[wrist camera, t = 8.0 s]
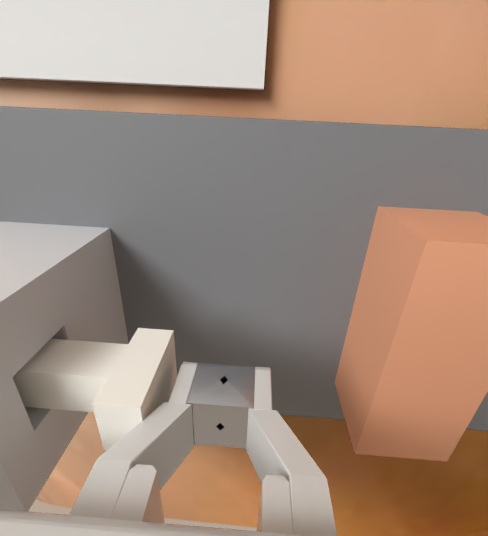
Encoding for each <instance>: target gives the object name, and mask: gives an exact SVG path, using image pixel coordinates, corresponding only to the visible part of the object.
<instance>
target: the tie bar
mask: <svg viewBox="0 0 488 536" xmlns="http://www.w3.org/2000/svg"><path fill="white" fill-rule="evenodd" d="M12 378H13V380H14V383H15V385H16V387H17V390H18V392H19V395H20V397H21V399H22V402H23V404H24V407H34V408H46V409H59V410H71V411H84V412H94V414H95V418H96V422H97V425H98V429H99V433H100V437H101V441H102V444H103V448H104V452H106V451H107V450H108V449H109V448H111V447H112V446H113V445H114V444H115V443H116V442H118V441H119V440H120V439H121V438H122V437H123V436H125V435H126V434H127V433H128V432H129V431H131V430H132V429H133V428H134V427H135V426H136V425H138V424H139V423H140V422H141V421H143V419H145V418H146V417H147V416H148V415H149V414H151V413H152V412H153V411H154V410H155V409H156V408H158V407H159V406H160V405H161V404H162V403H163V402H169V399H170V396H171V394H172V391H173V388H174V385H175V382H176V379H177V368H176V355H175V342H174V330H162V329H148V328H138V329H137V331H136V332H135V334H134V336H133V337H132V339H131V341H130V342H129V344H118V343H104V342H91V341H77V340H63V339H50V340H49V341H48V342H47V343H46V344H45V345H44V346H43V347H42V348H41V349H40V350H39V351H38V352H37V353H36V354H35V355H34V356H33V357H32V358H31V359H30V360H29V361H28V362H27V363H26V364H25V365H24V366H23V367H22V368H21V369H20V370H19V371H18V372H17V373H16V374H15V375H14V376H13V377H12Z"/></svg>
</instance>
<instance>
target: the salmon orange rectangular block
mask: <svg viewBox="0 0 488 536" xmlns="http://www.w3.org/2000/svg"><path fill="white" fill-rule="evenodd" d="M335 386H336V390H337V393H338V397H339V400H340V404H341V407H342V411H343V415H344V418H345V422H346V425H347V429H348V432H349V436H350V439H351V443H352V447H353V450H354V454H361V455H373V456H385V457H397V458H409V459H421V460H433V461H446V462H447V461H448V460H449V458H450V456H451V454H452V453H453V451H454V449H455V447H456V446H457V444H458V442H459V440H460V439H461V437H462V435H463V433H464V432H465V430H466V428H467V426H468V425H469V423H470V421H471V419H472V418H473V416H474V414H475V412H476V411H477V409H478V407H479V405H480V404H481V402H482V400H483V399H484V397H485V395H486V393H487V392H488V216H486V215H484V214H481V213H479V212H470V211H453V210H435V209H417V208H400V207H382V206H378V208H377V212H376V216H375V220H374V225H373V229H372V233H371V237H370V241H369V245H368V249H367V253H366V257H365V261H364V265H363V269H362V273H361V277H360V281H359V285H358V289H357V293H356V297H355V301H354V305H353V309H352V314H351V318H350V322H349V326H348V330H347V334H346V338H345V342H344V346H343V350H342V354H341V358H340V362H339V366H338V370H337V374H336V378H335Z"/></svg>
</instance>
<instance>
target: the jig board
mask: <svg viewBox="0 0 488 536" xmlns="http://www.w3.org/2000/svg"><path fill="white" fill-rule="evenodd" d="M378 206H382V207H400V208H417V209H435V210H453V211H470V212H479V213H481V214H484V215H486V216H488V130H483V129H462V128H441V127H421V126H400V125H379V124H359V123H338V122H317V121H296V120H276V119H255V118H234V117H214V116H193V115H172V114H152V113H131V112H110V111H90V110H69V109H48V108H28V107H7V106H0V509H5V510H16V511H28V510H29V509H30V507H31V506H32V504H33V502H34V501H35V499H36V497H37V496H38V494H39V492H40V491H41V489H42V487H43V486H44V484H45V483H46V481H47V479H48V478H49V476H50V474H51V473H52V471H53V469H54V468H55V466H56V464H57V463H58V461H59V459H60V458H61V456H62V454H63V453H64V451H65V449H66V448H67V446H68V445H69V443H70V441H71V440H72V438H73V436H74V435H75V433H76V431H77V430H78V428H79V426H80V425H81V423H82V421H83V420H84V418H85V416H86V415H87V413H88V412H84V411H71V410H59V409H46V408H34V407H24V404H23V402H22V399H21V397H20V395H19V392H18V390H17V387H16V385H15V383H14V380H13V378H12V377H13V376H14V375H15V374H16V373H17V372H18V371H19V370H20V369H21V368H22V367H23V366H24V365H25V364H26V363H27V362H28V361H29V360H30V359H31V358H32V357H33V356H34V355H35V354H36V353H37V352H38V351H39V350H40V349H41V348H42V347H43V346H44V345H45V344H46V343H47V342H48V341H49V340H50V339H63V340H77V341H91V342H104V343H118V344H129V342H130V341H131V339H132V337H133V336H134V334H135V332H136V331H137V329H138V328H148V329H162V330H174V342H175V355H176V368H177V376H178V373H179V370H180V367H181V365H182V363H183V362H194V363H208V364H219V365H235V366H252V367H270V369H271V385H272V410H277V411H278V412H279V414H280V415H290V416H303V417H316V418H328V419H341V420H345V418H344V415H343V411H342V407H341V404H340V400H339V397H338V393H337V390H336V386H335V378H336V374H337V370H338V366H339V362H340V358H341V354H342V350H343V346H344V342H345V338H346V334H347V330H348V326H349V322H350V318H351V314H352V309H353V305H354V301H355V297H356V293H357V289H358V285H359V281H360V277H361V273H362V269H363V265H364V261H365V257H366V253H367V249H368V245H369V241H370V237H371V233H372V229H373V225H374V220H375V216H376V212H377V208H378ZM466 429H468V430H480V431H488V392H487V393H486V395H485V397H484V399H483V400H482V402H481V404H480V405H479V407H478V409H477V411H476V412H475V414H474V416H473V418H472V419H471V421H470V423H469V425H468V426H467V428H466Z"/></svg>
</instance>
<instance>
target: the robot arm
mask: <svg viewBox="0 0 488 536" xmlns="http://www.w3.org/2000/svg"><path fill="white" fill-rule="evenodd" d="M194 445H207V446H223V447H233V448H242V449H246V451H247V454H248V456H249V458H250V460H251V462H252V464H253V466H254V468H255V470H256V473H257V475H258V477H259V479H260V481H261V483H262V489H261V497H260V506H259V514H258V523H257V531H246V530H235V529H223V528H212V527H200V526H188V525H177V524H166V523H164V515H163V509H162V503H161V496H160V490H161V488H162V487H163V486H164V485H165V483H166V482H167V481H168V479H169V478H170V477H171V476H172V474H173V473H174V472H175V471H176V469H177V468H178V467H179V465H180V464H181V463H182V462H183V460H184V459H185V458H186V456H187V455H188V454H189V453H190V451H191V450H192V449H193V448H194ZM0 536H337V532H336V526H335V521H334V515H333V510H332V504H331V499H330V493H329V488H328V482H327V478H326V477H325V475H324V474H323V472H322V471H321V470H320V468H319V467H318V466H317V464H316V463H315V462H314V460H313V459H312V457H311V456H310V455H309V453H308V452H307V451H306V449H305V448H304V446H303V445H302V444H301V442H300V441H299V440H298V438H297V437H296V436H295V434H294V433H293V431H292V430H291V429H290V427H289V426H288V425H287V423H286V422H285V421H284V419H283V418H282V416H281V415H280V414H279V412H278V411H277V410H272V385H271V369H270V367H252V366H235V365H219V364H208V363H194V362H183V363H182V365H181V367H180V370H179V373H178V376H177V379H176V382H175V385H174V388H173V391H172V394H171V396H170V399H169V402H163V403H162V404H161V405H160V406H159V407H158V408H156V409H155V410H154V411H153V412H152V413H151V414H149V415H148V416H147V417H146V418H145V419H143V421H141V422H140V423H139V424H138V425H136V426H135V427H134V428H133V429H132V430H131V431H129V432H128V433H127V434H126V435H125V436H123V437H122V438H121V439H120V440H119V441H118V442H116V443H115V444H114V445H113V446H112V447H111V448H109V449H108V450H107V451H106V452H105V453H103V454H102V455H101V456H100V457H99V458H98V459H97V460H96V462H95V464H94V466H93V468H92V470H91V472H90V474H89V476H88V478H87V480H86V482H85V484H84V486H83V488H82V490H81V492H80V494H79V496H78V498H77V500H76V502H75V504H74V506H73V508H72V510H71V512H70V514H69V515H62V514H51V513H39V512H28V511H16V510H5V509H0Z"/></svg>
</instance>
